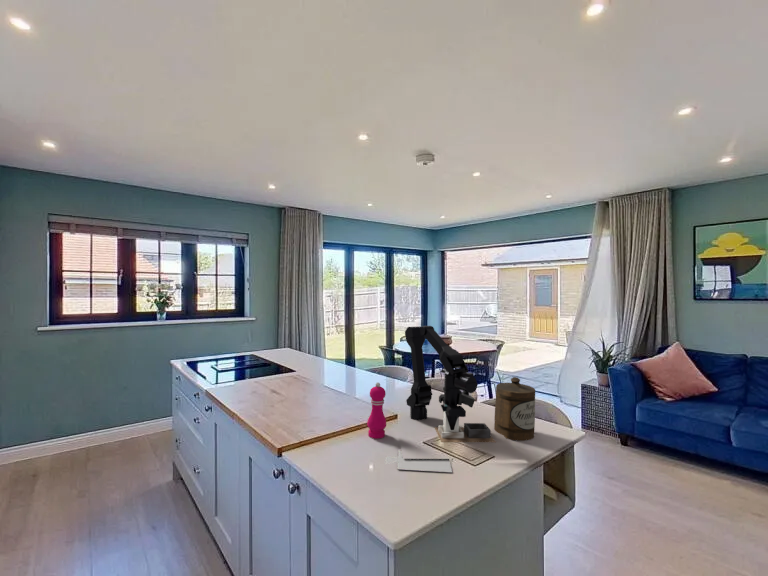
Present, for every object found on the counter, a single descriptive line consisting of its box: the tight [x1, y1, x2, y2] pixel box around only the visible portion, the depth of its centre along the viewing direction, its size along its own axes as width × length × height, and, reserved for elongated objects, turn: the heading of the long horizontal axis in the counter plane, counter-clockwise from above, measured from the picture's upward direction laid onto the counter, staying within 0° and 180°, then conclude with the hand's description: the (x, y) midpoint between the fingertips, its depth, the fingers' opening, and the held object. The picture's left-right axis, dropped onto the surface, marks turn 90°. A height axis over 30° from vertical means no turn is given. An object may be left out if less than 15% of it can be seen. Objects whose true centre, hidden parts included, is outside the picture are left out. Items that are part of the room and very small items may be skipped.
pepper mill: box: [366, 382, 387, 440], centre depth 141 cm, size 7×7×20 cm
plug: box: [442, 411, 460, 432], centre depth 141 cm, size 5×4×9 cm
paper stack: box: [384, 448, 453, 473], centre depth 116 cm, size 23×25×1 cm
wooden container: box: [493, 376, 536, 442], centre depth 146 cm, size 15×15×22 cm
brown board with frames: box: [434, 422, 497, 443], centre depth 141 cm, size 20×14×4 cm
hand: (450, 427), depth 141 cm, fingers closed on plug, 4 cm apart
